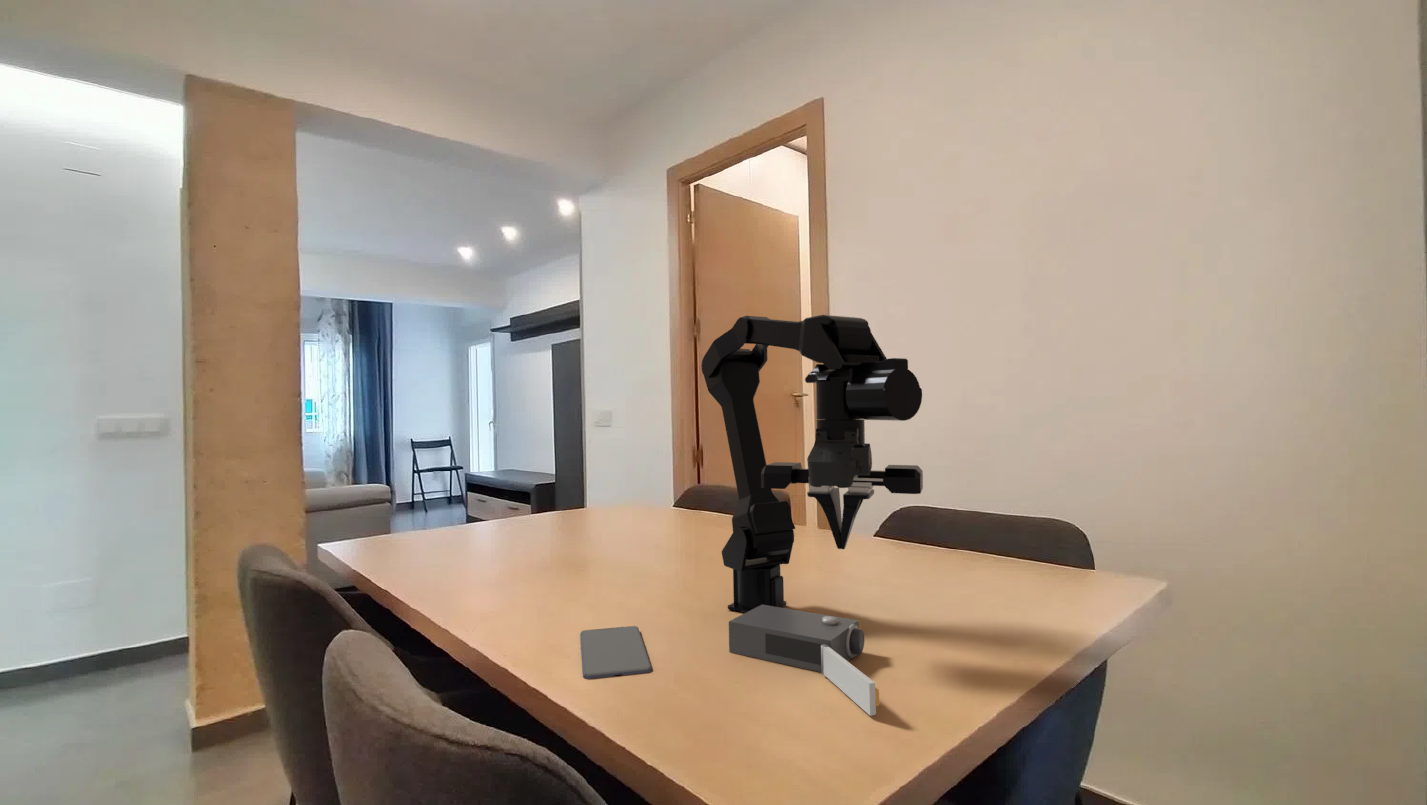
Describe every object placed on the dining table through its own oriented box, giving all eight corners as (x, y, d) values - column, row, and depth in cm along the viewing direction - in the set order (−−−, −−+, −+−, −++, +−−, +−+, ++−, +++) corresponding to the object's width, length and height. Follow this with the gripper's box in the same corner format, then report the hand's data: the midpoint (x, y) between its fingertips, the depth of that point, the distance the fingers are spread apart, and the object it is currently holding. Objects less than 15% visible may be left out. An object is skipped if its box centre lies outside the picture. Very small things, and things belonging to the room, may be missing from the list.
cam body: (728, 652, 76) (728, 617, 76) (762, 632, 83) (761, 600, 83) (840, 676, 69) (838, 637, 69) (867, 653, 75) (866, 617, 75)
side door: (879, 714, 59) (878, 682, 59) (869, 715, 59) (868, 683, 59) (829, 671, 69) (828, 643, 69) (820, 672, 69) (819, 644, 69)
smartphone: (582, 675, 69) (579, 629, 84) (582, 684, 69) (579, 637, 84) (653, 668, 71) (638, 624, 85) (653, 677, 71) (638, 631, 85)
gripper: (746, 421, 74) (747, 557, 74) (916, 421, 67) (918, 571, 67) (772, 419, 84) (773, 538, 84) (922, 419, 78) (923, 548, 78)
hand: (841, 548), depth 78 cm, fingers closed
